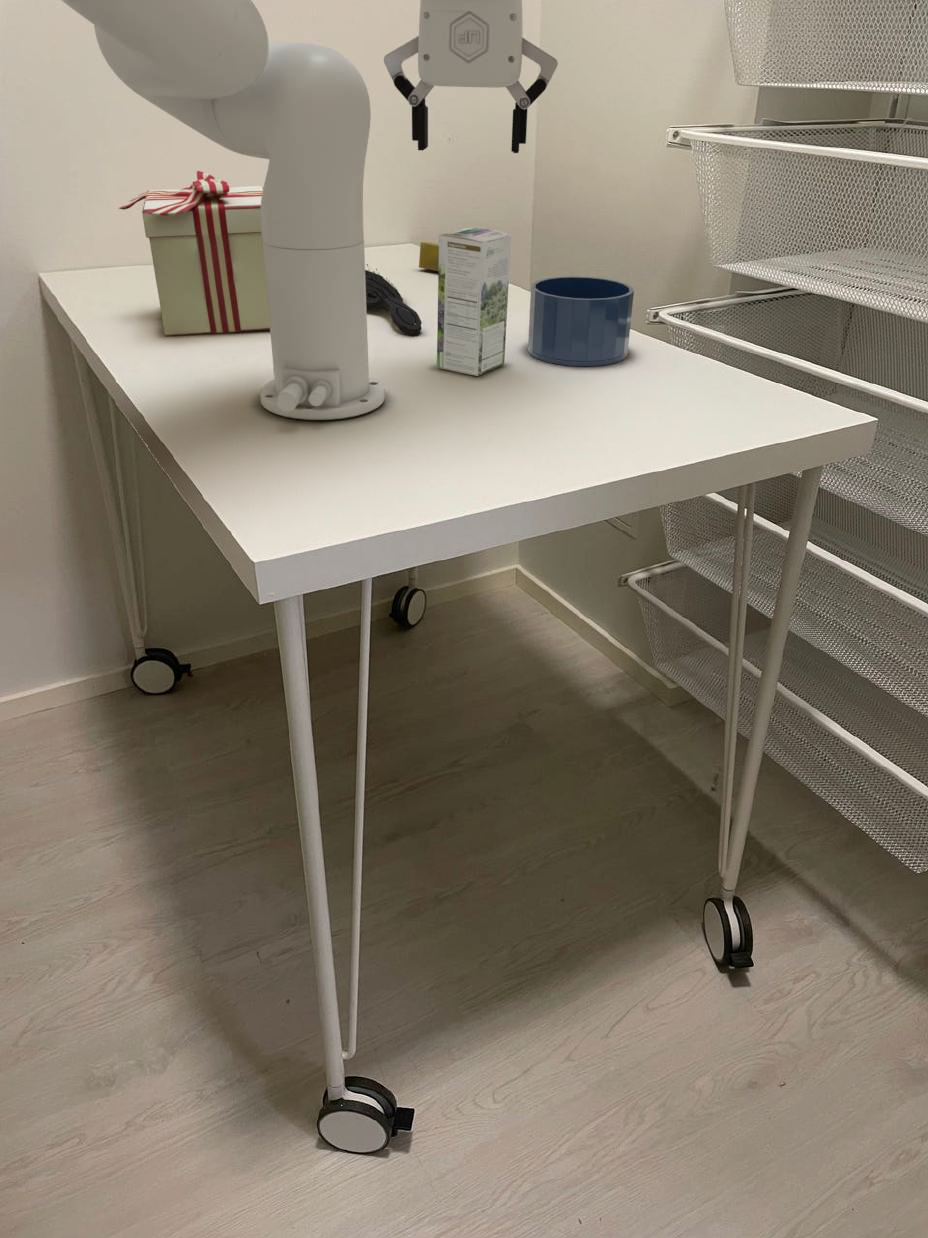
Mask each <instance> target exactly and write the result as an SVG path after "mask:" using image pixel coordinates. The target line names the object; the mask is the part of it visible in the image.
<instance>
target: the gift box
mask: <svg viewBox="0 0 928 1238" xmlns="http://www.w3.org/2000/svg"><path fill="white" fill-rule="evenodd" d="M196 179H197V180H194V181H192V184H190V185H189V186H187V187H184V188H171V189H148V190H147V191H146V192H143V193H141V194H139V195H138V196H135V197H133V198H132V199H131V200H129V201H127V202H126V203H125V204H124V205H122V206H120V207H118V209H119V210H128V209H131V208H132V207H133V206H134V205H136V203H138V202H140V201H142V200H144V202H143V206H142V211H141V214H142V221H143V227H144V233H145V234H144V235H145V238H147V239H148V240H149V245H150V252H151V258H152V264H153V270H154V276H155V277H154V278H155V284H156V288H157V294H158V301H159V306H160V313H161V320H162V326H163V330H164V332H163V333H164V336H165V337H171V336H184V335H185V336H187V335H199V334H200V335H202V334H219V333H220V334H221V333H233V332H235V333H236V332H237V333H238V332H246V331H265V330H266V331H267V330H268V331H269V330H270V322H269V310H268V299H267V287H266V276H265V264H264V253H263V242H262V234H261V220H260V209H261V198H262V192H263V187H264V186H262V185H249V186H248V185H246V186H230V185H229V184H228V182H227V181H225V180H222V179H219V178H217V177H215V176H213V175H212V174H210V173H207V172H204V171H200V170H197V171H196Z"/></svg>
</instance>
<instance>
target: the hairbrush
mask: <svg viewBox="0 0 928 1238" xmlns="http://www.w3.org/2000/svg"><path fill="white" fill-rule="evenodd" d="M366 266H367V268H368V270H367V269H365V282H366V310H367V311H368V310H379V309H380V310H382V309H386V310H387V311H388V312H389V314H390V318H391V321H392V323H393V324H394V325H395V326H396V327H397V328H398V330H399V331H400V332H401V333H403V334H405V335H407V336H411V337H415V336H419V335H420V333H421V331H422V324H423V323H422V320H421V318H420V316H419V314H418V312H417V311H416V310H414V309H412V308H411V306H409V305H407V304H406V303H405V302H404V299H403V297H402V295H401V293H400V292H399V290H398V289H397V288H396V286H395V285H394V284H393V283H392V282H390V280H388V278H387V277H386V278H384V276H383V275H381V274H380V273H379V271H377V270H378V269H377V268H375V271H377V273H376V272H375V271H374V270H372V271H371V270H370V269H371V268H369V264H368V263H367V264H366Z"/></svg>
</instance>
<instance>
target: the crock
mask: <svg viewBox="0 0 928 1238" xmlns="http://www.w3.org/2000/svg"><path fill="white" fill-rule="evenodd" d="M634 294H635V290H634V287H633V286H631V285H630V284H628V283H625V282H622V281H619V280H614V279H610V278H603V277H596V276H595V277H593V276H578V275H577V276H576V275H575V276H573V275H572V276H571V275H570V276H555V277H547V278H543V279H539V280H536V281H534V282H533V283H531V286H530V298H529V300H530V301H529V321H528V322H529V323H528V340H527V341H528V342H527V348H528V349H527V351H528V354H529V355H530V356H532V357H533V358H535V359H538V360H540V361H543V362H546V363H549V364H554V365H560V366H568V367H569V366H570V367H601V366H607V365H613V364H617V363H619V362H621V361H623V360H625V359H626V358H627V356H628V351H629V342H630V333H631V324H632V314H633V306H634V305H633V304H634V296H635V295H634Z"/></svg>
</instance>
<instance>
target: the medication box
mask: <svg viewBox="0 0 928 1238" xmlns="http://www.w3.org/2000/svg"><path fill="white" fill-rule="evenodd" d="M419 246H420V247H419V259H418V260H419V261H418V268H419V269H420V268H421V269H426V270H431V271H435V272H438V270H439V242H435V241H420V244H419Z"/></svg>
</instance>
